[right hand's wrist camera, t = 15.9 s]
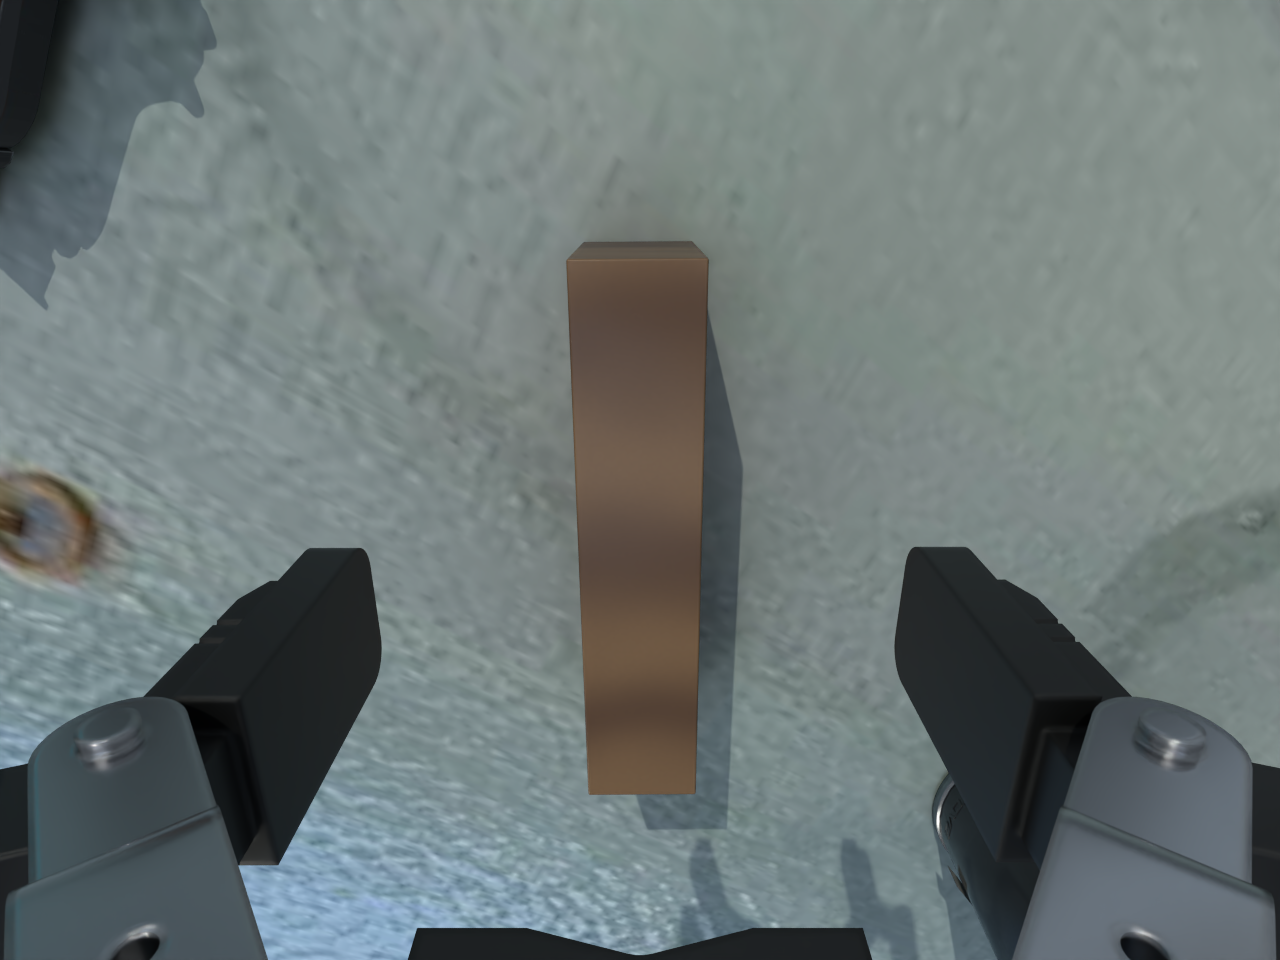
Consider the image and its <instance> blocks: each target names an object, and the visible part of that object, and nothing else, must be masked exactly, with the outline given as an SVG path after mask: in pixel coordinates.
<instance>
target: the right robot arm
mask: <svg viewBox="0 0 1280 960" xmlns="http://www.w3.org/2000/svg"><path fill="white" fill-rule="evenodd" d="M381 649H382V647H381V635H380V628H379V622H378V615H377V608H376V601H375V594H374V587H373V580H372V574H371V567H370V562H369V558H368V556H367V553H366V552H365V550H363V549H362V548H309V549H307V550H306V551H305V552H304V553H303V554H302V555H301V556H300V557H299V558H298V560H297V561H296V562H295V563H294V564H293V565H292V566H291V567H290V568H289V569H288V570H287V572H286V573H285V574H284V575H283V576H282V577H281V578H280V579H279V580H278V581H269V582H267V583H266V584H264V585H262V586H260V587H259V588H257V589H255V590H253V591H252V592H250V593H248V594H246V595H245V596H243V597H241V598H239V599H238V600H237V601H236V602H235V603H234V604H233V605H232V606H231V607H230V608H229V609H228V610H227V611H226V612H225V613H224V614H223V615H222V616H221V617H220V618H219V619H218V620H217V625H213V626H212V627H211V628H210V629H209V630H208V631H207V632H206V633H205V634H204V635H203V636H202V637H201V638H200V642H199V644H194V645H193V646H192V647H191V648H190V649H189V650H188V651H187V652H186V653H185V654H184V655H183V656H182V658H181V659H180V660H179V661H178V662H177V663H176V664H175V665H174V666H173V667H172V668H171V669H170V670H169V671H168V672H167V673H166V674H165V675H164V676H163V677H162V678H161V679H160V680H159V681H158V682H157V683H156V684H155V685H154V686H153V687H152V688H151V690H150V691H149V692H148V693H147V694H146V695H145V696H144V697H139V698H131V699H126V700H122V701H117V702H114V703H110V704H107V705H104V706H101V707H98V708H96V709H93V710H91V711H88V712H86V713H84V714H82V715H80V716H78V717H76V718H74V719H72V720H70V721H68V722H67V723H65V724H64V725H62V726H61V727H59V728H57V729H56V730H55V731H54V732H52V733H51V734H50V735H48V736H47V737H46V738H45V739H44V740H43V741H42V742H41V743H40V744H39V745H38V746H37V748H36V749H35V750H34V752H33V753H32V755H31V757H30V759H29V762H28V764H24V765H20V766H15V767H10V768H5V769H0V960H268V958H267V955H266V952H265V949H264V946H263V943H262V939H261V936H260V933H259V930H258V927H257V924H256V920H255V917H254V914H253V911H252V908H251V905H250V901H249V898H248V895H247V892H246V889H245V886H244V882H243V879H242V876H241V873H240V870H239V867H238V865H279V863H280V861H281V859H282V857H283V855H284V853H285V852H286V850H287V848H288V846H289V844H290V842H291V840H292V838H293V836H294V835H295V833H296V831H297V829H298V827H299V825H300V823H301V821H302V820H303V818H304V816H305V814H306V812H307V810H308V808H309V806H310V805H311V803H312V801H313V799H314V797H315V795H316V793H317V791H318V789H319V788H320V786H321V784H322V782H323V780H324V778H325V776H326V774H327V773H328V771H329V769H330V767H331V765H332V763H333V761H334V759H335V757H336V756H337V754H338V752H339V750H340V748H341V746H342V744H343V742H344V741H345V739H346V737H347V735H348V733H349V731H350V729H351V727H352V725H353V724H354V722H355V720H356V718H357V716H358V714H359V712H360V710H361V709H362V707H363V705H364V703H365V701H366V699H367V697H368V695H369V694H370V692H371V690H372V688H373V686H374V684H375V682H376V679H377V676H378V673H379V669H380V663H381ZM895 660H896V667H897V671H898V675H899V678H900V680H901V683H902V685H903V686H904V688H905V690H906V692H907V694H908V696H909V698H910V700H911V702H912V704H913V705H914V707H915V709H916V711H917V713H918V715H919V717H920V719H921V721H922V723H923V725H924V726H925V728H926V730H927V732H928V734H929V736H930V738H931V740H932V742H933V744H934V745H935V747H936V749H937V751H938V753H939V755H940V757H941V759H942V761H943V763H944V765H945V766H946V768H947V770H948V772H949V774H948V775H947V776H946V778H945V779H944V780H943V782H942V784H941V785H940V787H939V789H938V791H937V794H936V796H935V800H934V804H933V821H934V825H935V829H936V831H937V833H938V835H939V838H940V840H941V842H942V844H943V846H944V847H945V849H946V850H947V851H948V853H949V855H950V857H951V860H952V862H953V864H954V866H955V868H956V870H957V873H958V875H959V877H960V879H961V881H962V883H963V884H962V883H961V881H960V880H959V879H958V878H957V876H956V875H955V874H954V873H953V871H952V870H951V869H950V868H949V869H950V872H951V874H952V876H953V878H954V881H955V883H956V885H957V887H958V888H959V889H960V891H961V892H962V893H963V894H964V896H965V897H966V898H967V899H968V901H969V902H970V903H971V904H972V906H973V908H974V910H975V912H976V914H977V917H978V919H979V921H980V923H981V925H982V927H983V929H984V932H985V934H986V936H987V938H988V940H989V942H990V945H991V947H992V949H993V951H994V953H995V955H996V957H997V960H1280V768H1276V767H1271V766H1266V765H1261V764H1256V763H1252V762H1251V759H1250V757H1249V755H1248V753H1247V752H1246V750H1245V749H1244V748H1243V746H1242V745H1241V744H1240V743H1239V742H1238V741H1237V740H1236V739H1235V738H1234V737H1233V736H1232V735H1230V734H1229V733H1228V732H1226V731H1225V730H1224V729H1223V728H1221V727H1219V726H1218V725H1216V724H1215V723H1213V722H1212V721H1210V720H1208V719H1206V718H1204V717H1202V716H1200V715H1198V714H1196V713H1194V712H1192V711H1189V710H1187V709H1184V708H1182V707H1179V706H1176V705H1173V704H1170V703H1166V702H1163V701H1158V700H1154V699H1149V698H1141V697H1132V696H1131V695H1130V694H1129V693H1128V692H1127V691H1126V690H1125V689H1124V688H1123V687H1122V686H1121V685H1120V684H1119V683H1118V682H1117V681H1116V680H1115V678H1114V677H1113V676H1112V675H1111V674H1110V673H1109V672H1108V671H1107V670H1106V669H1105V668H1104V667H1103V666H1102V665H1101V664H1100V663H1099V662H1098V661H1097V660H1096V659H1095V658H1094V657H1093V656H1092V655H1091V653H1090V652H1089V651H1088V650H1087V649H1086V648H1085V647H1084V646H1083V645H1082V644H1081V643H1080V642H1075V637H1074V636H1073V635H1072V634H1071V633H1070V632H1069V631H1068V630H1067V629H1066V627H1065V626H1064V625H1063V624H1058V619H1057V618H1056V617H1055V616H1054V615H1053V614H1052V613H1051V612H1050V611H1049V610H1048V609H1047V608H1046V607H1045V606H1044V605H1043V604H1042V602H1041V601H1040V600H1039V599H1038V598H1036V597H1035V596H1033V595H1031V594H1029V593H1028V592H1026V591H1024V590H1022V589H1021V588H1019V587H1017V586H1015V585H1014V584H1012V583H1010V582H1008V581H1007V580H997V579H996V578H995V577H994V576H993V575H992V573H991V572H990V571H989V570H988V569H987V568H986V567H985V566H984V565H983V563H982V562H981V561H980V560H979V559H978V558H977V557H976V556H975V555H974V553H973V552H972V551H971V550H970V549H968V548H967V547H914V548H912V549H911V550H910V552H909V554H908V557H907V560H906V565H905V572H904V579H903V586H902V593H901V600H900V607H899V614H898V621H897V628H896V635H895ZM948 867H949V866H948ZM408 960H872V957H871V954H870V951H869V947H868V944H867V941H866V937H865V934H864V931H863V928H752V929H748V930H744V931H740V932H736V933H732V934H728V935H724V936H720V937H716V938H712V939H709V940H705V941H701V942H697V943H693V944H689V945H685V946H681V947H677V948H673V949H669V950H665V951H661V952H658V953H654V954H648V955H632V954H626V953H622V952H619V951H615V950H611V949H607V948H603V947H599V946H595V945H591V944H587V943H583V942H579V941H575V940H571V939H568V938H564V937H560V936H556V935H552V934H548V933H544V932H540V931H536V930H532V929H528V928H417V931H416V934H415V937H414V941H413V944H412V947H411V951H410V954H409V957H408Z"/></svg>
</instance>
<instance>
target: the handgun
mask: <svg viewBox="0 0 1280 960" xmlns="http://www.w3.org/2000/svg"><path fill="white" fill-rule="evenodd" d="M57 5H58V0H0V168H4V167H6V166H7V165H8V164H9V163H10V162H11V159H12V156H13V153H14V152H13V151H11V150H10V149H8V148H11V147H13V146H14V145H16V144H18V143H19V142H20V141H21V140H22V139H23V137H24V136H25V135H26V133H27V132H28V130H29V129H30V127H31V125H32V123H33V121H34V118H35V116H36V113H37V110H38V105H39V100H40V95H41V88H42V83H43V78H44V72H45V67H46V62H47V56H48V51H49V46H50V40H51V35H52V30H53V25H54V20H55V15H56V10H57Z"/></svg>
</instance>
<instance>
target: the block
mask: <svg viewBox="0 0 1280 960" xmlns="http://www.w3.org/2000/svg"><path fill="white" fill-rule="evenodd" d="M566 264H567V288H568V312H569V336H570V360H571V384H572V408H573V432H574V457H575V481H576V505H577V529H578V553H579V577H580V601H581V625H582V649H583V674H584V698H585V722H586V746H587V770H588V793H589V794H590V795H620V794H695V792H696V754H697V713H698V672H699V632H700V591H701V550H702V509H703V468H704V428H705V387H706V346H707V305H708V264H709V260H708V258H707V257H706V256H705V255H704V254H703V253H702V252H701V250H700V249H699V248H698V247H697V246H696V245H695V244H694V243H693V242H692V241H673V242H584V243H583V244H582V245H581V246H580V247H579V248H578V249H577V250H576V251H575V252H574V253H573V254H572V255H571V256H570V257H569V258H568V259H567V261H566Z"/></svg>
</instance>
